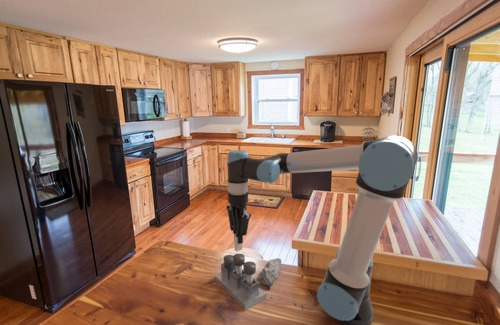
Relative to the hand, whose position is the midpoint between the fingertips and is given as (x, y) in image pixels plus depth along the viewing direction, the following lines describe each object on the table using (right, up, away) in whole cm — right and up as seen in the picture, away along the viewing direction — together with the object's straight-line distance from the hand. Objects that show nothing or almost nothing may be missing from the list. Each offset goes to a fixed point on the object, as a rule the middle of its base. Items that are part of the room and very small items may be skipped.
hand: (238, 249), depth 102 cm
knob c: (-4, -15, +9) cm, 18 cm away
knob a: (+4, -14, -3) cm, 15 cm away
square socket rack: (0, -17, +3) cm, 17 cm away
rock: (+13, -16, +11) cm, 23 cm away
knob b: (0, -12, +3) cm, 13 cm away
